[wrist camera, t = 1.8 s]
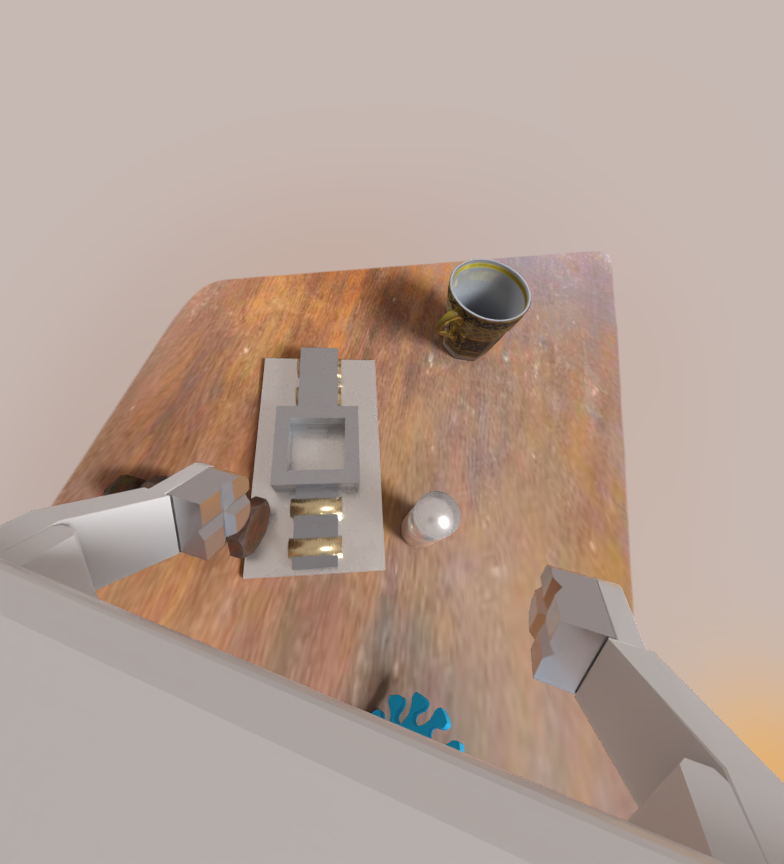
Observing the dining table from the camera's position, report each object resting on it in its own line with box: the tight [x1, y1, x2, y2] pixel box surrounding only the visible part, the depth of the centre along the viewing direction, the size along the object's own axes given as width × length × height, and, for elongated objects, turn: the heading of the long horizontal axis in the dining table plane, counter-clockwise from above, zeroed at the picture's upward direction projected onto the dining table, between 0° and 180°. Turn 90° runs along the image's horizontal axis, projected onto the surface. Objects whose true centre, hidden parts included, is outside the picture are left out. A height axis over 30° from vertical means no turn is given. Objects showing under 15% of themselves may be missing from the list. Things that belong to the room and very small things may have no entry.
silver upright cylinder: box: [401, 491, 461, 548], centre depth 35 cm, size 4×4×9 cm
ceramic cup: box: [436, 259, 531, 361], centre depth 45 cm, size 13×10×10 cm
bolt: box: [104, 475, 271, 559], centre depth 34 cm, size 6×5×15 cm
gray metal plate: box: [243, 348, 385, 579], centre depth 39 cm, size 14×26×4 cm, turn 3°
